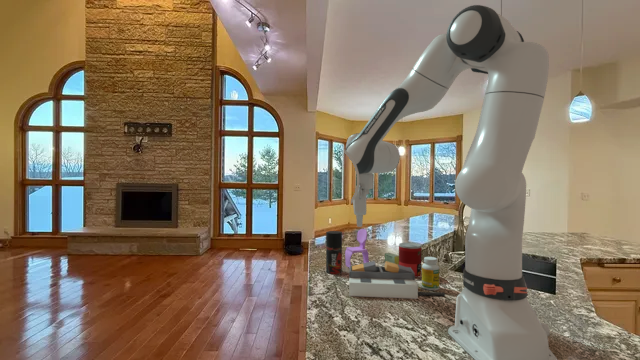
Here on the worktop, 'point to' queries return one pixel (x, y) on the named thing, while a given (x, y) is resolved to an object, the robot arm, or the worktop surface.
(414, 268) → the canned food
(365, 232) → the toy chair
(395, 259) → the medication box
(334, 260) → the deodorant
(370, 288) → the power strip
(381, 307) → the worktop surface
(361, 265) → the rocker
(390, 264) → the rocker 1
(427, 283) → the supplement bottle
